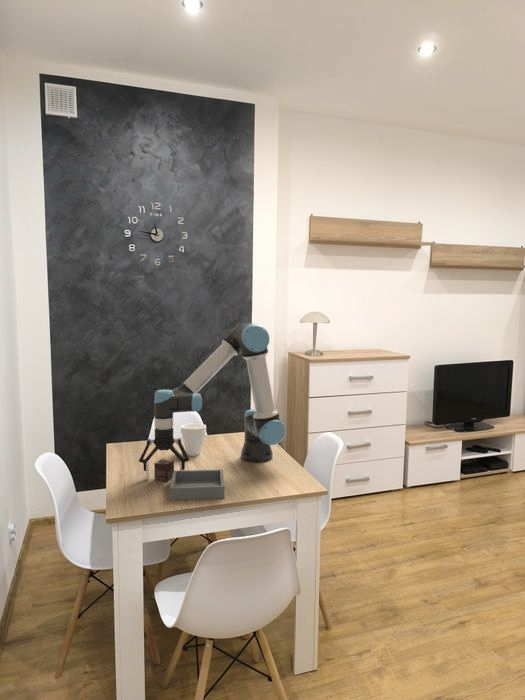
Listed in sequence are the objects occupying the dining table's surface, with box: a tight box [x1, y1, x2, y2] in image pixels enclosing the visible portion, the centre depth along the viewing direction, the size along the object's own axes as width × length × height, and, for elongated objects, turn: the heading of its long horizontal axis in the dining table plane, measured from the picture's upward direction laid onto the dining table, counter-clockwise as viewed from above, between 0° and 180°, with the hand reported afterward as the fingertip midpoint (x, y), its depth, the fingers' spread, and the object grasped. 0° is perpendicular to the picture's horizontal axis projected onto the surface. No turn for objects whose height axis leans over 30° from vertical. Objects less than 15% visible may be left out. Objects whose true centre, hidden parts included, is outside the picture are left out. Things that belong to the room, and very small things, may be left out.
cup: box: [180, 422, 207, 457], centre depth 239 cm, size 12×12×14 cm
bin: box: [169, 468, 225, 502], centre depth 192 cm, size 20×20×5 cm
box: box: [153, 458, 175, 482], centre depth 204 cm, size 6×6×7 cm
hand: (164, 478), depth 204 cm, fingers open, 13 cm apart
